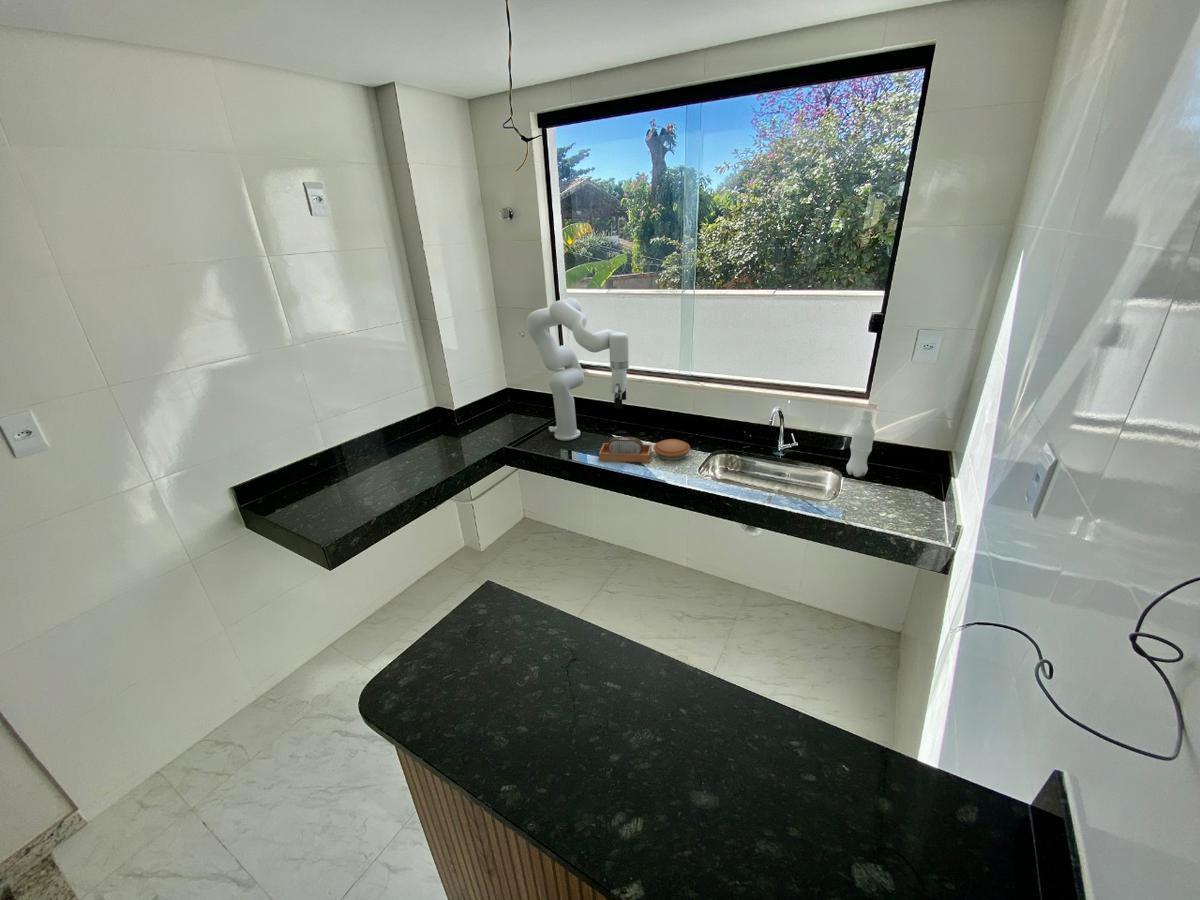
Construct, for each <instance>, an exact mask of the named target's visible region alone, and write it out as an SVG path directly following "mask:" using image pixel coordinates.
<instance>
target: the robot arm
mask: <svg viewBox="0 0 1200 900" xmlns="http://www.w3.org/2000/svg"><path fill="white" fill-rule="evenodd" d="M526 318H527V319H526V327H527V328H526V329H527V331H528V333H529V336H530V337H531V339H532V340H533V342H534V344H535V346H536V347H537V351H538V352H539V356H540V357H541V360H542V362H543V364H544V366H545V368H546V369H547V370H548V371H556V370H559V369H562V368H564V369H563V370H559V371H557V372H555V373H554V374H552V375H551V377H550V378H549V381H548V382H549V387H550V391H551V394H552V398H553V407H554V416H555V426H548V431H549V433H554V434H553V435H554V436H553V437H554V438H555V440H558V441H565V442H566V441H572V440H576V439H578V438H579V437H580V436H581V430H580V429H578V426H577V415H576V405H575V398H574V396H573V395H572V393H571V392H570V391H571V390H573V389H576V388H578V387H581V386H582V385H583V384H584V382H585V374H584V370H583V368H582V366H581V363H580V361H579V359H578V356H577V354H576V352H575V350H574V349H573V348H572V346H569V345H568V344H563V345H559V346H558V345H557V343H556V340H555V338H554V336H553V335H552V334H551V333H550V332H549V331H547V330H546V329H549V328H552V327H556V326H559V325H562V326H564V327H565V328H567V329H568V330H569V331H571V332H572V335H573V338H574V340H575V342H576V344H577V345H579V346H580V347H581V348H583V349H584V350H586V351H588V352H590V353H599V352H602V351H605V350H609V369H610V370H611V393H612V394H614V396H613V407H614V409H623V401H626V400H627V386H628V385H627V383H628V377H627V374H628V373H627V370H628V369H629V367H630V365H629V363H630V360H629V359H630V357H629V355H630V354H629V336H628V334H627V333H626V332H622V331H615V330H613V329H611V328H610V329H609V328H606V329H603V330H599V331H596V332H593V333H592V332H590V331H589V330H587V329H586V328H585V327H586V325H587V321H588V319H587V316H586V314H584V313H583V312H582V306H581V303H580V302H579V301H578V300H577V299H575V298H574V297H569V298H568V297H567V298H563V299H559V300H556V301H554V302H552V303H551V304H550V306H548V307H543V308H539V309H536V310H534V311H532V312H530V313H529V314H528V315H527V317H526Z"/></svg>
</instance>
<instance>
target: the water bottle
mask: <svg viewBox="0 0 1200 900" xmlns="http://www.w3.org/2000/svg"><path fill="white" fill-rule="evenodd" d="M872 415H873V412H872V411H869V410H864V411H862V414H861V417H860V421H859V422H858V423H857V425H856V426H855V427H854V429H853V430H852V435H851V441H850V444H849V448H850V458H849V460H848V462H847V464H846V467H845V468H846V472H847V474H848V475H849V476H852V475H853V477H855V478H860V477H864V476H865V475H866V474H867V473H868V470H869V467H868V458H869V455H870V454H871V452H872V451H873V443H874V438H875V437H876V436H875V434H876V433H875V429H874V427H873V424H872V420H873V417H872Z"/></svg>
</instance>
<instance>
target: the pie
mask: <svg viewBox="0 0 1200 900" xmlns="http://www.w3.org/2000/svg"><path fill="white" fill-rule="evenodd" d="M653 450H654V451H655V453H656V454H657V455H658V457H659V458H660V459H662V460H664V461H679V460H682V459H683V458H685V456H687V454H688V453H689V452H690V451H691V445H690V444H689V443H688V442H686V441H684V440H680V439H677V438H676V439H675V438H670V439H664V440H663V439H662V440H661V441H657V442H656V443H655V444H654V446H653Z"/></svg>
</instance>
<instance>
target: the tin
mask: <svg viewBox="0 0 1200 900" xmlns="http://www.w3.org/2000/svg"><path fill="white" fill-rule="evenodd" d="M608 443H609V444H608V449H609V451H610V453H620V454H641V452H642V450H643V441H642V440H641V439H640V438H638V437H633V436H632V437H631V436H614V437H612V438H610V439H609V440H608Z"/></svg>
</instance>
